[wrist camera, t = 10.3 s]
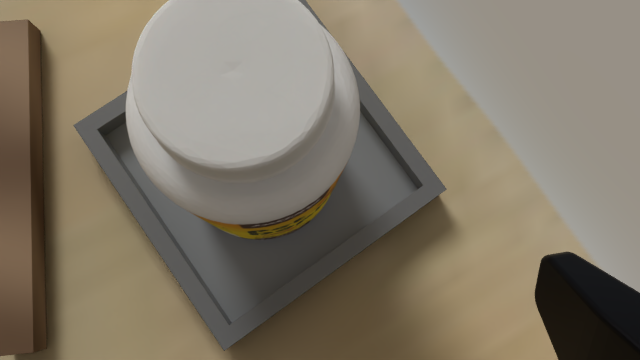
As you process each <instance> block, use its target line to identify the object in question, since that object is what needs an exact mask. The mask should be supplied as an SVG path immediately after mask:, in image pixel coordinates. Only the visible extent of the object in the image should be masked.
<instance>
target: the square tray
mask: <svg viewBox="0 0 640 360" xmlns="http://www.w3.org/2000/svg"><path fill="white" fill-rule="evenodd" d="M298 1H300V2H301V3H302V4H303V5H304V6H305V7H306V8H307V9H308V10H309V11H310V12H311V13H312V15H313V16H314V17H315V18H316V19H317V21H318V23H319V24H321V25H322V26H323V27H324V28H325V29H326V27H325V26H324V25H323V23H322V22H321V21H320V19H319V18H318V17H317V15H316V14H315V13H314V11H313V10H312V9H311V7H310V6H309V5H308V3H307V2H306V1H305V0H298ZM326 30H327V29H326ZM327 31H328V30H327ZM328 32H329V31H328ZM345 55H346V54H345ZM346 57H347V55H346ZM347 59H348V61H349V63H350V65H351V67H352V70H353V73H354V75H355V78H356V82H357V87H358V92H359V100H360V119H359V128H358V132H357V137H356V141H355V144H354V147H353V150H352V153H351V156H350V158H349V160H348V162H347V164H346V166H345V168H344V170H343V172H342V174H341V176H340V178H339V180H338V182H337V184H336V186H335V188H334V189H333V191H332V193H331V195H330V197H329V199H328V200H327V202H326V204H325V205H324V207H323V208H322V209H321V211H320V212H319V213H318V214H317V215H316V216H315V217H314V218H313V219H312V220H311V221H310V222H309V223H308V224H306V225H305V226H303V227H302V228H300V229H299V230H297V231H295V232H293V233H290V234H288V235H286V236H282V237H279V238H274V239H267V240H254V239H245V238H240V237H237V236H234V235H231V234H229V233H226V232H224V231H222V230H220V229H219V228H217V227H215V226H213V225H212V224H210V223H208V222H206V221H204V220H202V219H201V218H199V217H197V216H196V215H194V214H192V213H190V212H189V211H187V210H185V209H183V208H182V207H180V206H179V205H177V204H175V203H174V202H173V201H172V200H170V199H169V198H168V197H167V196H165V195H164V194H163V193H162V192H161V191H160V190H159V189H158V188H157V187H156V186H155V185H154V184H153V183H152V181H151V180H150V179H149V177H148V176H147V175H146V173H145V172H144V170H143V169H142V167H141V165H140V164H139V162H138V160H137V158H136V156H135V154H134V151H133V149H132V146H131V143H130V139H129V135H128V130H127V125H126V98H127V91H126V92H125V93H123V94H122V95H120V96H118V97H117V98H115V99H114V100H112V101H111V102H109V103H107V104H106V105H104V106H103V107H101V108H100V109H98V110H97V111H95V112H93V113H92V114H90V115H89V116H87V117H86V118H84V119H83V120H81V121H79V122H78V123H76V124H75V125H73V126H74V127H75V128H76V130H77V131H78V133H79V134H80V136H81V137H82V139H83V140H84V142H85V143H86V145H87V146H88V148H89V149H90V151H91V152H92V154H93V155H94V157H95V158H96V160H97V161H98V163H99V164H100V166H101V167H102V169H103V170H104V172H105V173H106V175H107V176H108V178H109V179H110V181H111V182H112V184H113V185H114V187H115V188H116V190H117V191H118V193H119V194H120V196H121V197H122V199H123V200H124V202H125V203H126V205H127V206H128V208H129V209H130V211H131V212H132V214H133V215H134V217H135V218H136V220H137V221H138V223H139V224H140V226H141V227H142V229H143V230H144V232H145V233H146V235H147V236H148V238H149V239H150V241H151V242H152V244H153V245H154V247H155V248H156V250H157V251H158V253H159V254H160V256H161V257H162V259H163V260H164V262H165V263H166V265H167V266H168V268H169V269H170V271H171V272H172V274H173V275H174V277H175V278H176V280H177V281H178V283H179V284H180V286H181V287H182V289H183V290H184V292H185V293H186V295H187V296H188V298H189V299H190V300H191V302H192V303H193V305H194V306H195V308H196V309H197V311H198V312H199V314H200V315H201V317H202V318H203V320H204V321H205V323H206V324H207V326H208V327H209V329H210V330H211V332H212V333H213V335H214V336H215V338H216V339H217V341H218V342H219V344H220V345H221V347H222V348H223V350H224V351H225V350H226V349H227V348H229V347H230V346H232V345H233V344H234V343H236V342H237V341H238V340H240V339H241V338H243V337H244V336H245V335H247V334H248V333H249V332H251V331H252V330H254V329H255V328H256V327H258V326H259V325H260V324H262V323H263V322H265V321H266V320H267V319H269V318H270V317H271V316H273V315H274V314H276V313H277V312H278V311H280V310H281V309H282V308H284V307H285V306H287V305H288V304H289V303H291V302H292V301H293V300H295V299H296V298H298V297H299V296H300V295H302V294H303V293H304V292H306V291H307V290H309V289H310V288H311V287H313V286H314V285H316V284H317V283H318V282H320V281H321V280H322V279H324V278H325V277H327V276H328V275H329V274H331V273H332V272H333V271H335V270H336V269H338V268H339V267H340V266H342V265H343V264H344V263H346V262H347V261H349V260H350V259H351V258H353V257H354V256H355V255H357V254H358V253H360V252H361V251H362V250H364V249H365V248H366V247H368V246H369V245H371V244H372V243H373V242H375V241H376V240H377V239H379V238H380V237H382V236H383V235H384V234H386V233H387V232H388V231H390V230H391V229H393V228H394V227H395V226H397V225H398V224H399V223H401V222H402V221H404V220H405V219H406V218H408V217H409V216H411V215H412V214H413V213H415V212H416V211H417V210H419V209H420V208H422V207H423V206H424V205H426V204H427V203H428V202H430V201H431V200H433V199H434V198H435V197H437V196H438V195H439V194H441V193H442V192H444V191H445V190H446V188H445V186H444V185H443V184H442V182H441V181H440V180H439V178H438V177H437V176H436V174H435V173H434V172H433V170H432V169H431V168H430V166H429V165H428V164H427V162H426V161H425V160H424V158H423V157H422V156H421V154H420V153H419V152H418V150H417V149H416V148H415V146H414V145H413V144H412V142H411V141H410V140H409V138H408V137H407V136H406V134H405V133H404V132H403V130H402V129H401V128H400V126H399V125H398V124H397V122H396V121H395V120H394V118H393V117H392V116H391V114H390V113H389V112H388V110H387V109H386V108H385V106H384V105H383V104H382V102H381V101H380V100H379V98H378V97H377V96H376V94H375V93H374V92H373V90H372V89H371V87H370V86H369V85H368V83H367V82H366V81H365V79H364V78H363V77H362V75H361V74H360V73H359V71H358V70H357V69H356V67H355V66H354V65H353V63H352V62H351V61H350V59H349V58H348V57H347Z"/></svg>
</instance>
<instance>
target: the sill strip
mask: <svg viewBox="0 0 640 360" xmlns="http://www.w3.org/2000/svg"><path fill="white" fill-rule="evenodd" d="M46 348H47V342H46V291H45V241H44V190H43V139H42V89H41V38H40V30H39V29H38V28H37V27H35V26H34V25H33V24H32V23H31V22H30V21H29V20H15V21H2V22H0V356H5V355H14V354H24V353H34V352H37V351H40V350H43V349H46Z"/></svg>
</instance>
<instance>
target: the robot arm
mask: <svg viewBox="0 0 640 360" xmlns="http://www.w3.org/2000/svg"><path fill="white" fill-rule="evenodd" d="M535 301H536V305H537V308H538V311H539V313H540V316H541V318H542V320H543V323H544V325H545V328H546V330H547V333H548V335H549V338H550V340H551V342H552V345H553V347H554V350H555V352H556V355H557V357H558V360H640V293H639V292H637V291H636V290H634V289H633V288H631V287H629V286H627V285H626V284H624V283H623V282H621V281H619V280H617V279H616V278H614V277H613V276H611V275H609V274H608V273H606V272H604V271H603V270H601V269H599V268H598V267H596V266H594V265H593V264H591V263H589V262H588V261H586V260H584V259H583V258H581V257H579V256H577V255H576V254H574V253H571V252H562V253H556V254H550V255H546V256H544V257H543V259H542V260H541V263H540V268H539V273H538V278H537V283H536V288H535Z"/></svg>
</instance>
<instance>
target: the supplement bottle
mask: <svg viewBox="0 0 640 360" xmlns="http://www.w3.org/2000/svg"><path fill="white" fill-rule="evenodd" d="M359 119H360V100H359V92H358V87H357V82H356V78H355V75H354V73H353V70H352V67H351V65H350V63H349V61H348V59H347V57H346V55H345V53H344V51H343V50H342V48H341V47H340V46H339V44H338V43H337V41H336V40H335V39H334V38H333V37H332V35H331V34H330V33H329V32H328V31H327V30H326V29H325V28H324V27H323V26H322V25H321V24H319V23H318V21H317V19H316V18H315V17H314V16H313V15H312V13H311V12H310V11H309V10H308V9H307V8H306V7H305V6H304V5H303V4H302V3H301V2H300V1H298V0H169V1H168V2H166V3H165V4H164V5H163V6H162V7H161V8H160V9H159V10H158V11H157V12H156V13H155V14H154V15H153V17H152V18H151V19H150V21H149V22H148V23H147V25H146V26H145V28H144V30H143V32H142V33H141V35H140V38H139V40H138V43H137V46H136V49H135V52H134V56H133V62H132V75H131V78H130V82H129V86H128V90H127V98H126V125H127V130H128V135H129V139H130V143H131V146H132V149H133V151H134V154H135V156H136V158H137V160H138V162H139V164H140V165H141V167H142V169H143V170H144V172H145V173H146V175H147V176H148V177H149V179H150V180H151V181H152V183H153V184H154V185H155V186H156V187H157V188H158V189H159V190H160V191H161V192H162V193H163V194H164V195H165V196H167V197H168V198H169V199H170V200H172V201H173V202H174V203H175V204H177V205H179V206H180V207H182V208H183V209H185V210H187V211H189V212H190V213H192V214H194V215H196V216H197V217H199V218H201V219H202V220H204V221H206V222H208V223H210V224H212V225H213V226H215V227H217V228H219V229H220V230H222V231H224V232H226V233H229V234H231V235H234V236H237V237H240V238H245V239H254V240H267V239H274V238H279V237H282V236H286V235H288V234H290V233H293V232H295V231H297V230H299V229H300V228H302V227H303V226H305V225H306V224H308V223H309V222H310V221H311V220H312V219H313V218H314V217H315V216H316V215H317V214H318V213H319V212H320V211H321V209H322V208H323V207H324V205H325V204H326V202H327V200H328V199H329V197H330V195H331V193H332V191H333V189H334V188H335V186H336V184H337V182H338V180H339V178H340V176H341V174H342V172H343V170H344V168H345V166H346V164H347V162H348V160H349V158H350V156H351V153H352V150H353V147H354V144H355V141H356V137H357V132H358V128H359Z"/></svg>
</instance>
